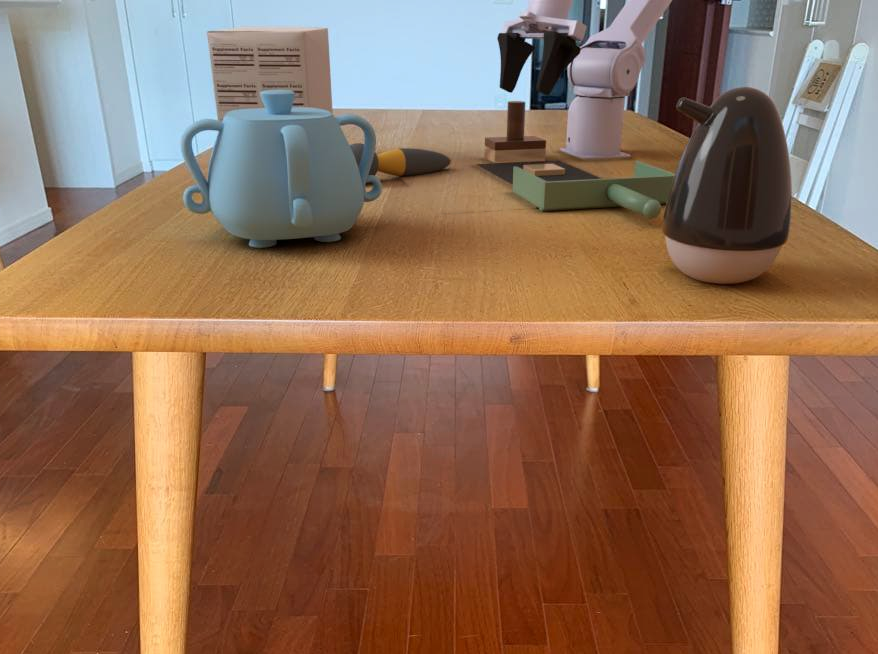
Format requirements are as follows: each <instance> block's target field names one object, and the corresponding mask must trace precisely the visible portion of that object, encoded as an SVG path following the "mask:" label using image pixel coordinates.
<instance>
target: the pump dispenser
mask: <svg viewBox="0 0 878 654" xmlns="http://www.w3.org/2000/svg"><path fill="white" fill-rule="evenodd" d="M676 110H677V111H678V112H679V113H682V114H683V115H685V116H686V117H688V118H690V119H692V120H694V122H697V125H696V126H695V128H694V130H693V132H692V134H691V136H690V138H689V140H688V141H687V143H686V146H685V148H684V150H683V153H682V155H681V157H680V159H679V162H678V165H677V168H676V171H675V175H674V178H673V182H672V185H671V188H670V192H669V196H668V199H667V203H666V204H665V208H664V212H663V216H662V217H663V218H662V226H661V231H662V234H663V235H664V236H665V237H664V239H665V245H666V250H667V254H668V255H669V258H670V259H671V261H672V263H673V264H674V265H675V267H676V268H677V269H678V270H679V271H680V272H682V273H683V274H685V275H686V276H688V277H690V278H691V279H694V280H697V281H700V282H704V283H709V284H718V285H736V284H741V283H746V282H748V281H749V282H750V281H751V280H754V279H756V278H757V277H759V276H761V275H762V274H764V273H765V272H766V271H767V270H768V269H769V268H770V267H771V266H772V265H773V264H774V262H775V261H776V259H777V258H778V256H779V254H780V252H781V249H782V247H783V245H785V244H786V243H787V242H788V239H789V235H790V229H791V222H792V218H791V217H792V199H793V197H792V196H793V194H792V193H793V187H792V185H793V183H792V169H791V160H790V153H789V147H788V146H789V145H788V141H787V137H786V132H785V129H784V124H783V121H782V118H781V115H780V113H779V110H778V108H777V106H776V104H775V102H774V101H773V99H772V98H771V97H770V96H769V95H768V94H766V93H765V92H763V91H762V90H760V89H758V88H755V87H750V86H740V87H733V88H731V89H729V90H727V91H725V92H723V93H721V94H720V95H719V96H718V97H717V98H715V99H714V101H712V103H711V104H710V106H708V105H706V104H703V103H700V102H697V101H695V100H693V99H690V98H687V97H683V96H682V97H681V98H679V99H678V101H677V103H676Z"/></svg>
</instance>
